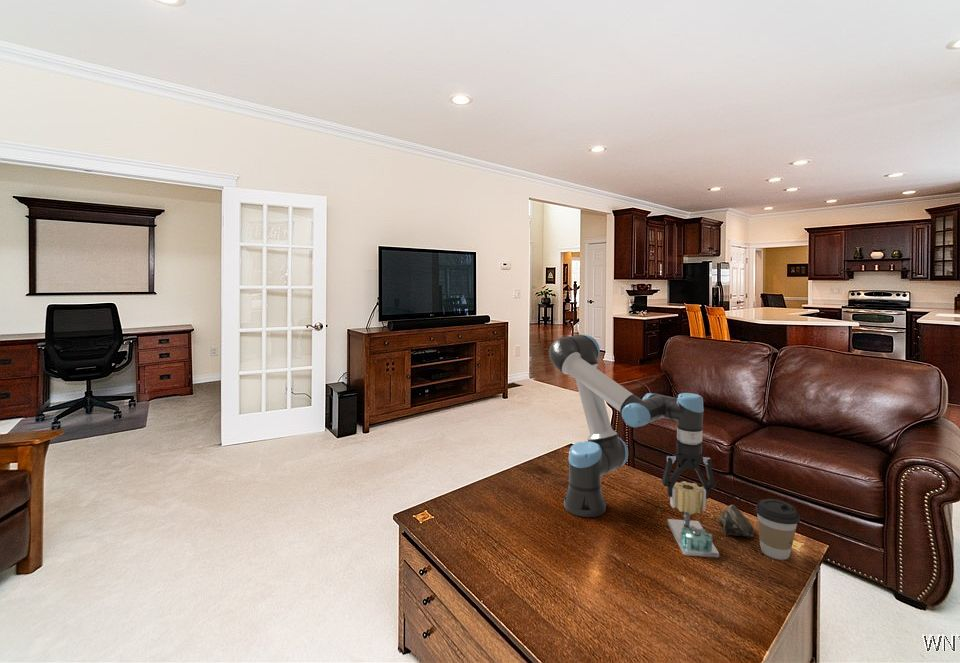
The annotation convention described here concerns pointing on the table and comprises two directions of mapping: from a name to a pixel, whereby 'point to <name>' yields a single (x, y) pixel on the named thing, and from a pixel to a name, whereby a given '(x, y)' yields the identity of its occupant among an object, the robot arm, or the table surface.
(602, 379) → the robot arm
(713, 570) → the table surface
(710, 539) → the carrier
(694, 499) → the gear
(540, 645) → the table surface
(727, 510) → the grey rock
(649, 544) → the table surface
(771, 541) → the coffee cup
